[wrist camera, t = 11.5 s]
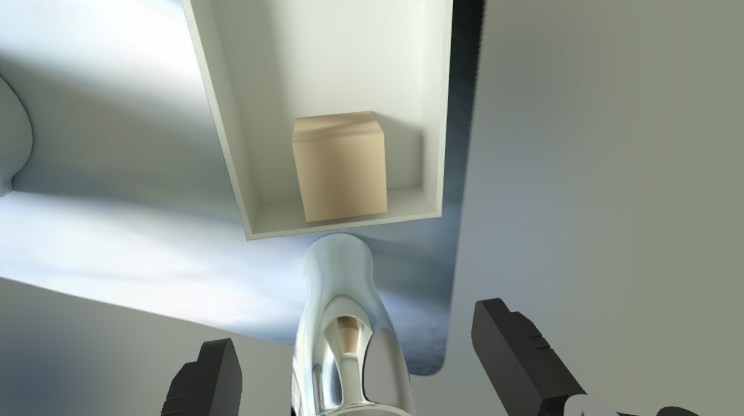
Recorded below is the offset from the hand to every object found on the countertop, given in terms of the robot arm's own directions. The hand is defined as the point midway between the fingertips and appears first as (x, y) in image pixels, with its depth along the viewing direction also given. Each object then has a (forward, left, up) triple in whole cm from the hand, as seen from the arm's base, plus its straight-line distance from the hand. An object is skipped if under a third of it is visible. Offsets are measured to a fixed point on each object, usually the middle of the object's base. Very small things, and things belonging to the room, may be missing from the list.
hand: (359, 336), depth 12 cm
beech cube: (+1, 0, -16) cm, 16 cm away
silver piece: (-9, -3, -17) cm, 19 cm away
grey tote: (+5, +2, -17) cm, 17 cm away
